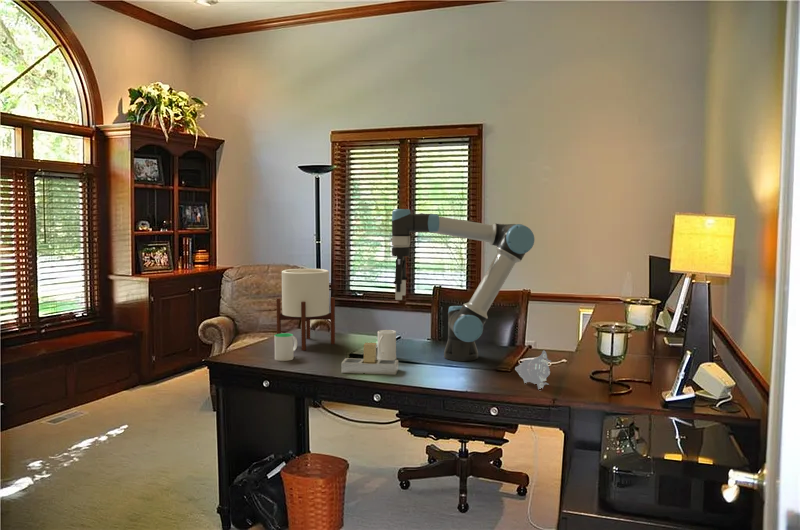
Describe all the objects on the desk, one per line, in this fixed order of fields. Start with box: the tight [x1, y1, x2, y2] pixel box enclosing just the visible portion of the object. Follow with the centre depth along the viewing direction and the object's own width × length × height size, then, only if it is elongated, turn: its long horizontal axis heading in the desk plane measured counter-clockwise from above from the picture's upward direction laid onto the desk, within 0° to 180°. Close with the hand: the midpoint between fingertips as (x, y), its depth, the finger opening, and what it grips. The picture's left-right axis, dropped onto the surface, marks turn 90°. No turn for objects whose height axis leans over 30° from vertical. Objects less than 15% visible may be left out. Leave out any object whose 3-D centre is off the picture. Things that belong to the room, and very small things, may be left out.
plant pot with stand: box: [275, 268, 336, 352], centre depth 303 cm, size 22×22×36 cm
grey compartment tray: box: [340, 357, 399, 376], centre depth 254 cm, size 22×8×4 cm, turn 83°
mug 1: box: [273, 332, 298, 362], centre depth 276 cm, size 12×8×10 cm
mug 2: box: [376, 329, 397, 360], centre depth 274 cm, size 12×8×12 cm
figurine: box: [514, 350, 552, 390], centre depth 233 cm, size 10×15×14 cm
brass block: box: [363, 342, 377, 363], centre depth 253 cm, size 4×4×10 cm
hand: (400, 297), depth 261 cm, fingers open, 13 cm apart
